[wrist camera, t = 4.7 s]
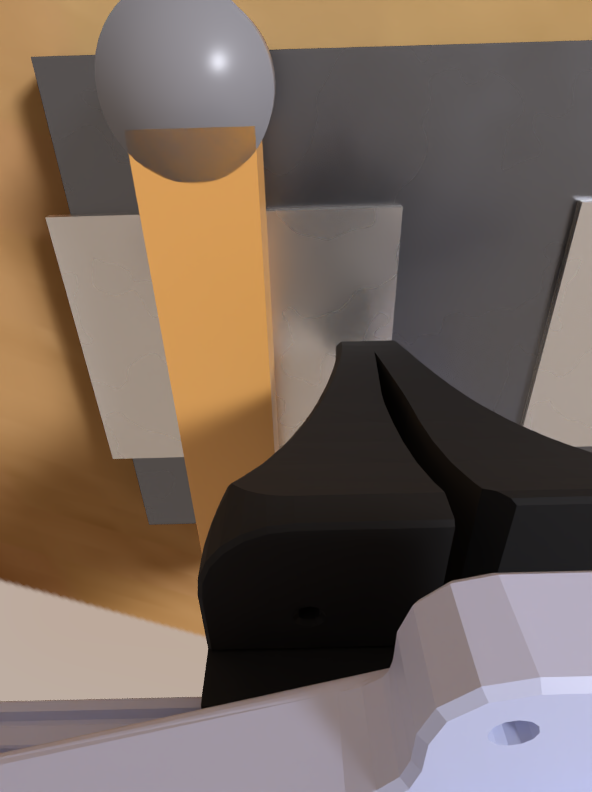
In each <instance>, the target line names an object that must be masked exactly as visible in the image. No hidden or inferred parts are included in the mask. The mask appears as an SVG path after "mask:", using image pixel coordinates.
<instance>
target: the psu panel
mask: <svg viewBox="0 0 592 792" xmlns="http://www.w3.org/2000/svg"><path fill="white" fill-rule="evenodd" d="M269 51H270V54H271V57H272V60H273V65H274V70H275V79H276V94H275V102H274V107H273V111H272V114H271V118H270V121H269V124H268V127H267V130H266V132H265V135H264V137H263V139H262V145H263V163H264V182H265V200H266V219H267V237H268V255H269V274H270V292H271V311H272V329H273V348H274V366H275V384H276V403H277V421H278V440H279V449H280V448H281V447H282V446H283V445H284V444H285V443H286V442H287V441H288V440H289V439H290V438H291V437H292V436H293V435H294V433H295V432H296V431H297V430H298V429H299V428H300V426H301V425H302V424H303V423H304V421H305V420H306V419H307V417H308V416H309V415H310V413H311V412H312V410H313V409H314V407H315V405H316V404H317V402H318V400H319V398H320V397H321V395H322V393H323V391H324V389H325V387H326V385H327V383H328V381H329V378H330V375H331V373H332V370H333V368H334V364H335V360H336V346H337V345H338V344H339V343H340V342H345V341H386V340H394V341H396V342H397V343H399V344H400V345H401V346H402V347H403V348H405V349H406V350H407V351H408V352H409V353H411V354H412V355H413V356H414V357H415V358H417V359H418V360H419V361H420V362H421V363H423V364H424V365H425V366H426V367H427V368H429V369H430V370H431V371H433V372H434V373H435V374H436V375H438V376H439V377H440V378H442V379H443V380H444V381H446V382H447V383H448V384H450V385H451V386H453V387H454V388H456V389H457V390H459V391H460V392H462V393H463V394H465V395H466V396H468V397H469V398H471V399H472V400H474V401H476V402H477V403H479V404H481V405H482V406H484V407H486V408H488V409H490V410H491V411H493V412H495V413H497V414H499V415H501V416H503V417H504V418H506V419H508V420H510V421H513V422H515V423H517V424H519V425H521V426H523V427H526V428H528V429H530V430H533V431H535V432H537V433H540V434H542V435H544V436H547V437H549V438H552V439H555V440H557V441H560V442H563V443H565V444H568V445H571V446H574V447H577V448H580V449H583V450H586V451H589V452H592V40H587V41H554V42H520V43H486V44H452V45H418V46H384V47H351V48H317V49H283V50H269ZM31 59H32V63H33V67H34V71H35V75H36V79H37V83H38V87H39V91H40V95H41V99H42V103H43V107H44V111H45V115H46V119H47V123H48V127H49V131H50V134H51V138H52V142H53V146H54V150H55V154H56V158H57V162H58V166H59V170H60V174H61V178H62V182H63V186H64V190H65V194H66V198H67V202H68V206H69V210H70V213H71V215H48V216H47V217H45V218H46V222H47V225H48V229H49V232H50V236H51V239H52V243H53V247H54V250H55V254H56V257H57V261H58V264H59V268H60V272H61V275H62V279H63V282H64V286H65V289H66V293H67V297H68V300H69V304H70V307H71V311H72V315H73V318H74V322H75V325H76V329H77V332H78V336H79V340H80V343H81V347H82V350H83V354H84V357H85V361H86V365H87V368H88V372H89V375H90V379H91V382H92V386H93V390H94V393H95V397H96V400H97V404H98V407H99V411H100V415H101V418H102V422H103V425H104V429H105V432H106V436H107V440H108V443H109V447H110V450H111V454H112V457H113V459H130V458H133V462H134V466H135V470H136V474H137V478H138V482H139V486H140V490H141V494H142V498H143V502H144V506H145V510H146V514H147V518H148V522H149V525H151V524H189V523H196V520H195V514H194V509H193V503H192V498H191V492H190V487H189V481H188V476H187V471H186V465H185V460H184V454H183V449H182V443H181V438H180V432H179V427H178V421H177V416H176V410H175V405H174V400H173V394H172V389H171V383H170V378H169V372H168V367H167V361H166V356H165V350H164V345H163V339H162V334H161V329H160V323H159V318H158V312H157V307H156V301H155V296H154V290H153V285H152V279H151V274H150V268H149V263H148V258H147V252H146V247H145V241H144V236H143V230H142V225H141V219H140V214H139V208H138V203H137V197H136V192H135V187H134V181H133V176H132V170H131V165H130V159H129V154H128V152H127V151H126V150H125V149H124V148H123V147H122V145H121V144H120V143H119V142H118V140H117V139H116V137H115V136H114V134H113V133H112V131H111V129H110V127H109V125H108V123H107V121H106V119H105V117H104V114H103V112H102V109H101V106H100V103H99V99H98V95H97V90H96V83H95V55H80V56H46V57H31Z"/></svg>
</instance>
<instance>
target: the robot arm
mask: <svg viewBox="0 0 592 792" xmlns="http://www.w3.org/2000/svg"><path fill="white" fill-rule="evenodd" d="M198 599H199V604H200V609H201V614H202V619H203V624H204V629H205V634H206V639H207V644H208V656H207V663H206V671H205V678H204V686H203V692H202V697H175V698H134V699H133V698H132V699H88V700H45V701H6V702H5V701H4V702H0V792H592V452H589V451H586V450H583V449H580V448H577V447H574V446H571V445H568V444H565V443H563V442H560V441H557V440H555V439H552V438H549V437H547V436H544V435H542V434H540V433H537V432H535V431H533V430H530V429H528V428H526V427H523V426H521V425H519V424H517V423H515V422H513V421H510V420H508V419H506V418H504V417H503V416H501V415H499V414H497V413H495V412H493V411H491V410H490V409H488V408H486V407H484V406H482V405H481V404H479V403H477V402H476V401H474V400H472V399H471V398H469V397H468V396H466V395H465V394H463V393H462V392H460V391H459V390H457V389H456V388H454V387H453V386H451V385H450V384H448V383H447V382H446V381H444V380H443V379H442V378H440V377H439V376H438V375H436V374H435V373H434V372H433V371H431V370H430V369H429V368H427V367H426V366H425V365H424V364H423V363H421V362H420V361H419V360H418V359H417V358H415V357H414V356H413V355H412V354H411V353H409V352H408V351H407V350H406V349H405V348H403V347H402V346H401V345H400V344H399V343H397V342H396V341H394V340H386V341H345V342H340V343H339V344H338V345H337V346H336V360H335V364H334V368H333V370H332V373H331V375H330V378H329V381H328V383H327V385H326V387H325V389H324V391H323V393H322V395H321V397H320V398H319V400H318V402H317V404H316V405H315V407H314V409H313V410H312V412H311V413H310V415H309V416H308V417H307V419H306V420H305V421H304V423H303V424H302V425H301V426H300V428H299V429H298V430H297V431H296V432H295V433H294V435H293V436H292V437H291V438H290V439H289V440H288V441H287V442H286V443H285V444H284V445H283V446H282V447H281V448H280V449H279V450H278V451H277V452H275V453H274V454H273V455H272V456H271V457H270V458H269V459H267V460H266V461H265V462H264V463H263V464H261V465H260V466H258V467H257V468H255V469H254V470H252V471H251V472H249V473H247V474H246V475H244V476H243V477H241V478H239V479H238V480H236V481H234V482H233V483H231V484H230V485H229V486H228V487H227V489H226V491H225V493H224V495H223V497H222V500H221V502H220V504H219V506H218V508H217V511H216V513H215V515H214V518H213V520H212V523H211V526H210V529H209V532H208V535H207V538H206V541H205V544H204V548H203V553H202V558H201V564H200V570H199V575H198Z"/></svg>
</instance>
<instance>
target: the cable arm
mask: <svg viewBox="0 0 592 792" xmlns="http://www.w3.org/2000/svg"><path fill="white" fill-rule="evenodd" d="M95 83H96V90H97V95H98V99H99V103H100V106H101V109H102V112H103V114H104V117H105V119H106V121H107V123H108V125H109V127H110V129H111V131H112V133H113V134H114V136H115V137H116V139H117V140H118V142H119V143H120V144H121V145H122V147H123V148H124V149H125V150H126V151H127V152H128V154H129V159H130V165H131V170H132V176H133V181H134V187H135V192H136V197H137V203H138V208H139V214H140V219H141V225H142V230H143V236H144V241H145V247H146V252H147V258H148V263H149V268H150V274H151V279H152V285H153V290H154V296H155V301H156V307H157V312H158V318H159V323H160V329H161V334H162V339H163V345H164V350H165V356H166V361H167V367H168V372H169V378H170V383H171V389H172V394H173V400H174V405H175V410H176V416H177V421H178V427H179V432H180V438H181V443H182V449H183V454H184V460H185V465H186V471H187V476H188V481H189V487H190V492H191V498H192V503H193V509H194V514H195V520H196V525H197V531H198V536H199V542H200V547H201V553H203V548H204V544H205V541H206V538H207V535H208V532H209V529H210V526H211V523H212V520H213V518H214V515H215V513H216V511H217V508H218V506H219V504H220V502H221V500H222V497H223V495H224V493H225V491H226V489H227V487H228V486H229V485H230V484H231V483H233V482H234V481H236V480H238V479H239V478H241V477H243V476H244V475H246V474H247V473H249V472H251V471H252V470H254V469H255V468H257V467H258V466H260V465H261V464H263V463H264V462H265V461H266V460H267V459H269V458H270V457H271V456H272V455H273V454H274V453H275V452H277V451H278V450H279V440H278V421H277V403H276V384H275V366H274V348H273V329H272V311H271V292H270V274H269V255H268V237H267V219H266V200H265V182H264V163H263V145H262V139H263V137H264V135H265V132H266V130H267V127H268V124H269V121H270V118H271V114H272V111H273V107H274V102H275V94H276V79H275V70H274V65H273V60H272V57H271V54H270V51H269V48H268V46H267V44H266V42H265V40H264V38H263V36H262V35H261V33H260V31H259V30H258V28H257V27H256V26H255V24H254V23H253V22H252V21H251V19H250V18H249V17H248V16H247V15H246V14H245V13H244V12H243V11H242V10H241V9H239V8H238V7H237V6H236V5H235V4H234V3H233V2H232V1H231V0H121V1H120V2H119V3H118V4H117V5H116V6H115V7H114V9H113V10H112V12H111V13H110V14H109V16H108V18H107V20H106V22H105V24H104V26H103V28H102V31H101V34H100V36H99V39H98V44H97V49H96V55H95Z"/></svg>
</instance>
